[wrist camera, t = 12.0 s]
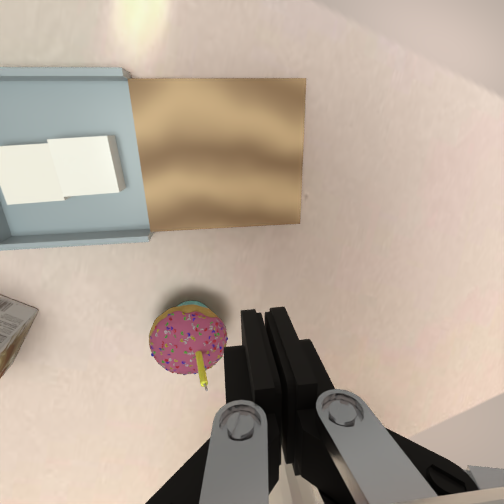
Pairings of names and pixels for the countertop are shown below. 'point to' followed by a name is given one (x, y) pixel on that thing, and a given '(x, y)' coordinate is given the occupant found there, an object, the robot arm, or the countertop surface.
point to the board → (220, 150)
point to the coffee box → (13, 329)
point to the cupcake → (188, 339)
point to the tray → (72, 126)
